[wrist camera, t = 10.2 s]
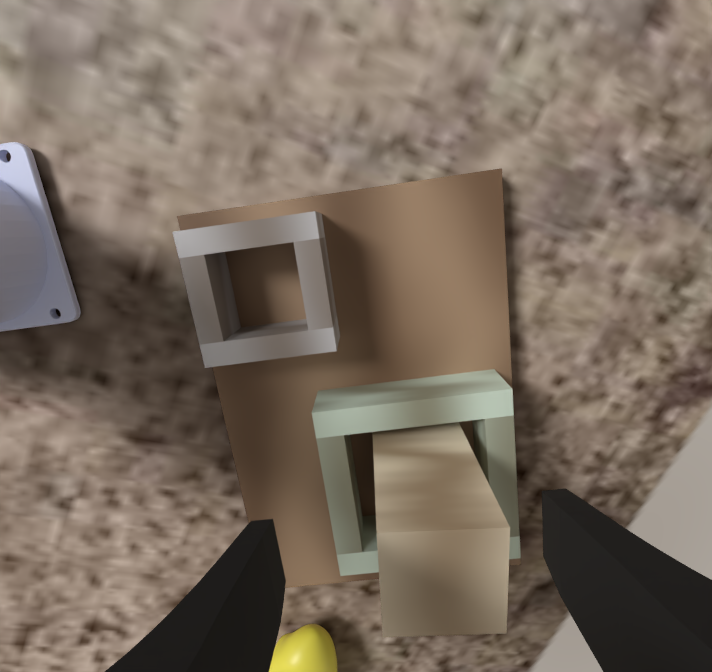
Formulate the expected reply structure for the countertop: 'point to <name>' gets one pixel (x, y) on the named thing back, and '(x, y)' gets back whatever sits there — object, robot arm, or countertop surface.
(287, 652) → the lemon
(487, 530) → the peg
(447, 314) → the socket board
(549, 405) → the countertop surface
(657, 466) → the countertop surface
